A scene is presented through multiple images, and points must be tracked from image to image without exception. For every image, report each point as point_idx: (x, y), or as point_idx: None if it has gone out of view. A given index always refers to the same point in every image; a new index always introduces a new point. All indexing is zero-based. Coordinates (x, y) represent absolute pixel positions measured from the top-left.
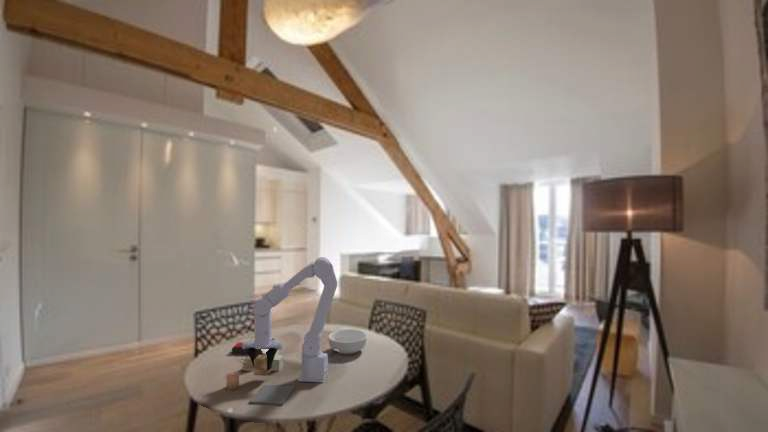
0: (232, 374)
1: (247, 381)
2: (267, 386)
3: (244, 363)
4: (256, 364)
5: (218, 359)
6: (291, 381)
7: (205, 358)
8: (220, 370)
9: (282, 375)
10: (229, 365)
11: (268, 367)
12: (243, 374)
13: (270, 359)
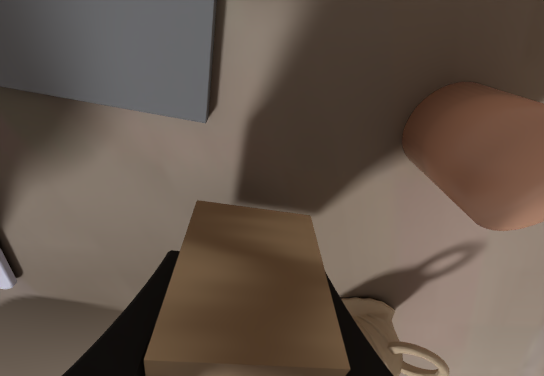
0: (541, 179)
1: (347, 201)
2: (158, 87)
3: (393, 341)
4: (301, 299)
5: (483, 368)
6: (23, 180)
7: (529, 372)
8: (490, 306)
9: (141, 254)
10: (444, 336)
11: (165, 269)
12: (378, 272)
13: (72, 373)
